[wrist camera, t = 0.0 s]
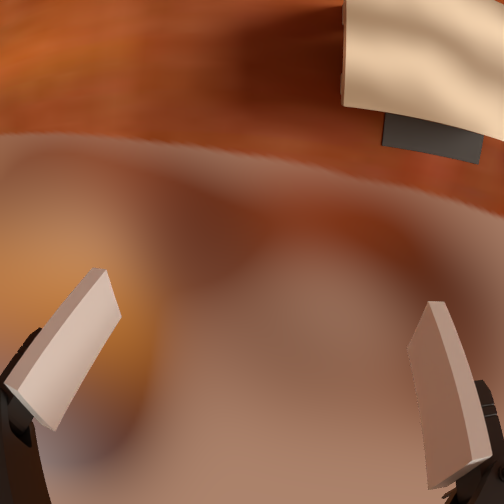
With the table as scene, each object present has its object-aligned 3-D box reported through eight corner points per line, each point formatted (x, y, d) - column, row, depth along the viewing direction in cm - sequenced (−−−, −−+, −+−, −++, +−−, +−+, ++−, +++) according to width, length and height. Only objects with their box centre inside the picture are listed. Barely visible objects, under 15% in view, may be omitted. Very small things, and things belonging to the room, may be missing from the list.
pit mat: (385, 112, 31) (385, 112, 31) (483, 135, 29) (483, 135, 29) (381, 145, 33) (382, 145, 33) (477, 163, 31) (478, 164, 31)
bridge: (328, 3, 25) (345, -44, 12) (508, 52, 22) (591, 62, 9) (326, 92, 31) (343, 106, 18) (501, 129, 28) (579, 172, 15)
